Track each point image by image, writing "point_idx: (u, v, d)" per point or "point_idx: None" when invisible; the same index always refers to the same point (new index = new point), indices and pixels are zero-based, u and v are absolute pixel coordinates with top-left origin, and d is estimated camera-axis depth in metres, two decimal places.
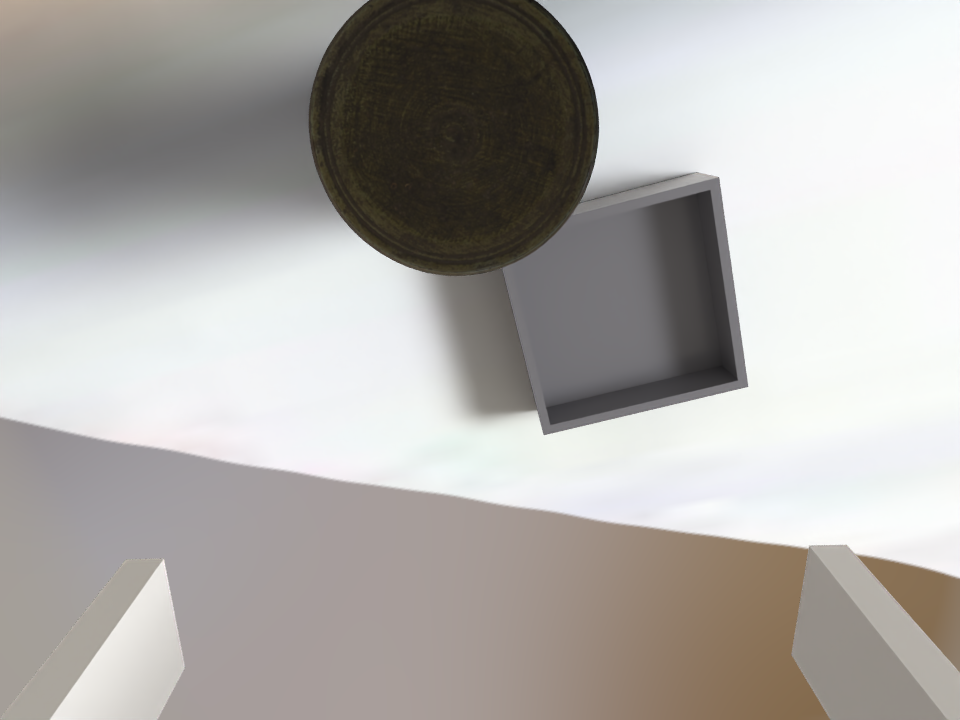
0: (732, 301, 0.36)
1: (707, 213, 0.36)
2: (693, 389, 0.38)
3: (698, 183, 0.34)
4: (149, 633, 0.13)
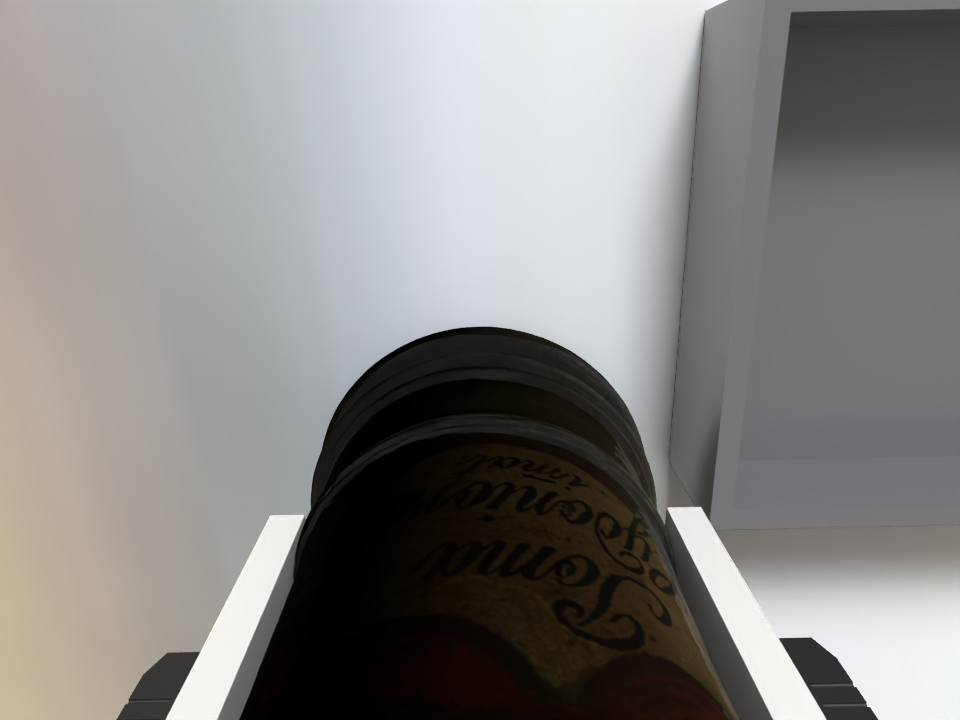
0: None
1: (835, 18, 0.14)
2: None
3: (762, 43, 0.13)
4: None
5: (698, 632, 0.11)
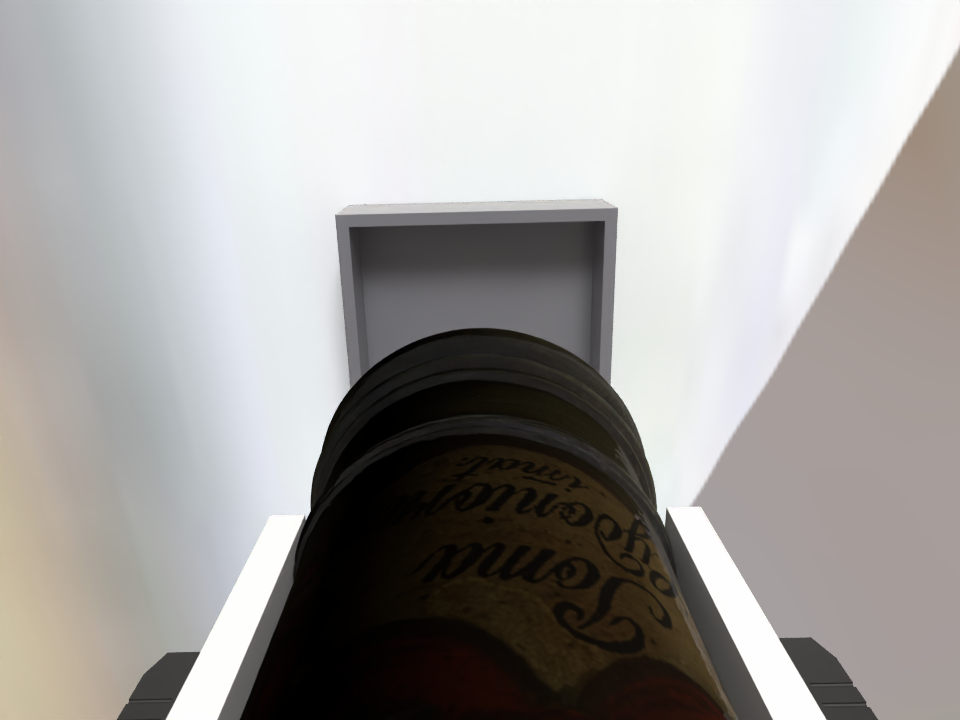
0: (494, 215, 0.28)
1: None
2: (601, 277, 0.29)
3: (338, 240, 0.28)
4: None
5: (698, 634, 0.11)
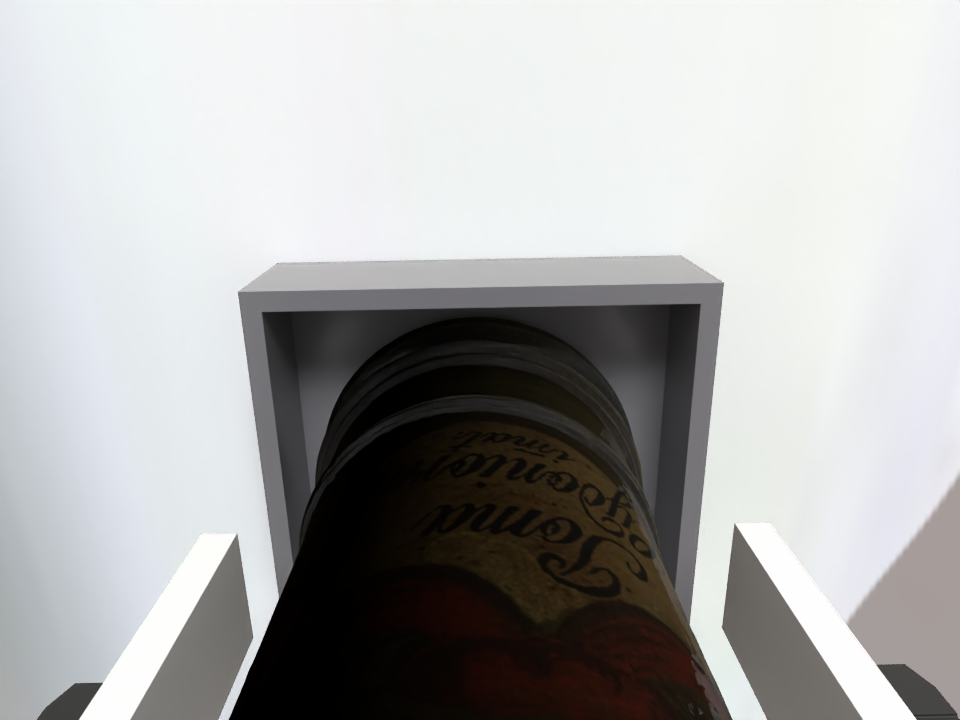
0: (511, 293, 0.16)
1: None
2: (689, 393, 0.17)
3: (246, 333, 0.17)
4: (227, 602, 0.14)
5: (674, 592, 0.12)
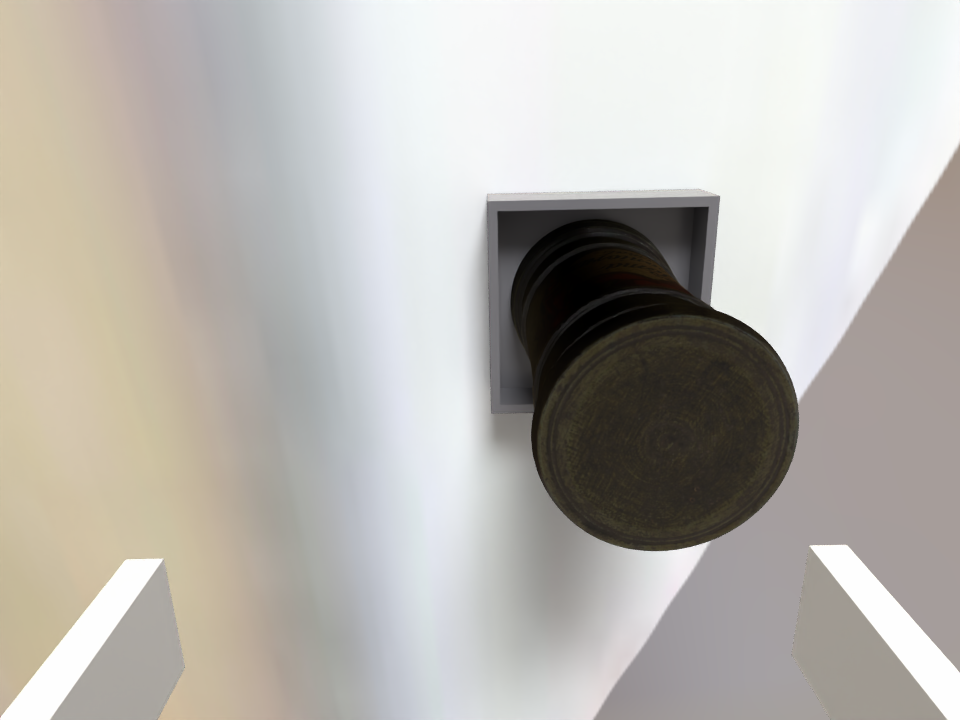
0: (617, 201, 0.34)
1: None
2: (703, 253, 0.35)
3: (488, 222, 0.35)
4: (149, 633, 0.13)
5: None
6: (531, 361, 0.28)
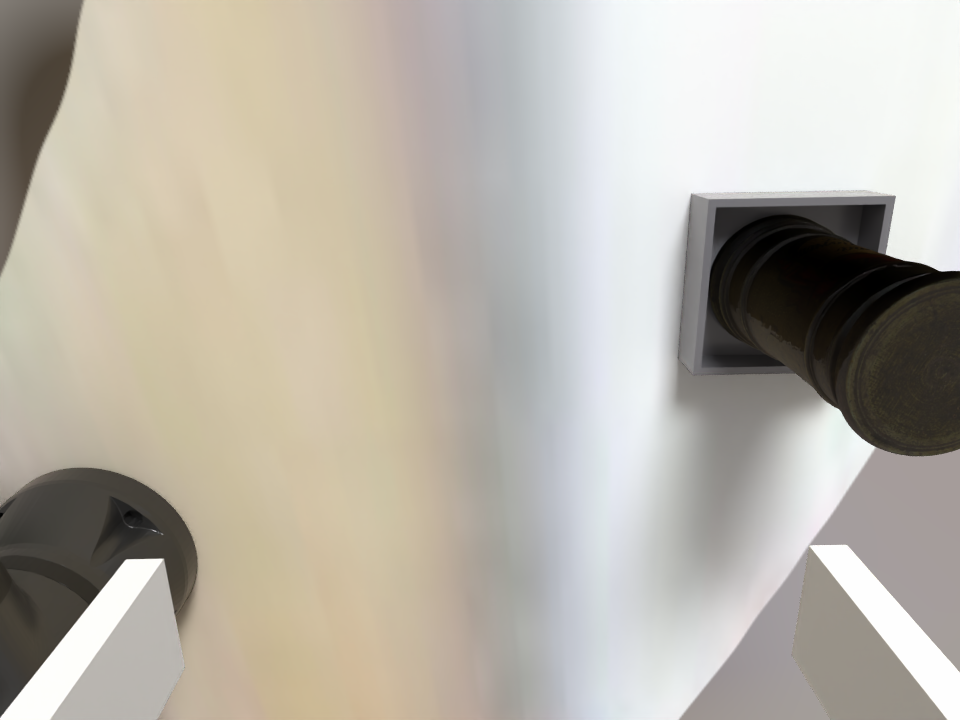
0: (813, 199, 0.42)
1: None
2: (877, 242, 0.43)
3: (707, 216, 0.43)
4: (149, 633, 0.13)
5: None
6: (782, 323, 0.36)
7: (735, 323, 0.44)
